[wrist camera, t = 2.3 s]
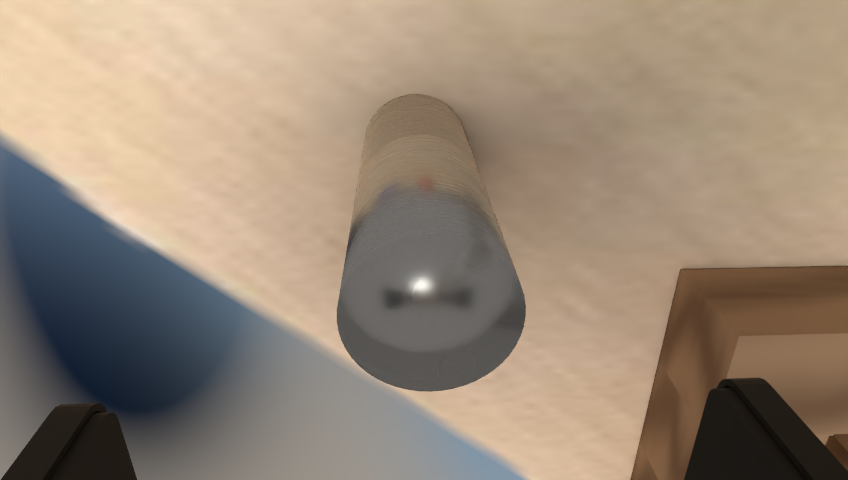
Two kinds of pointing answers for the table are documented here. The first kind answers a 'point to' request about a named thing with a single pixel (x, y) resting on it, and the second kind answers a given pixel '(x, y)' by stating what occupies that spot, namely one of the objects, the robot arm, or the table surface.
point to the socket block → (749, 355)
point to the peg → (425, 256)
